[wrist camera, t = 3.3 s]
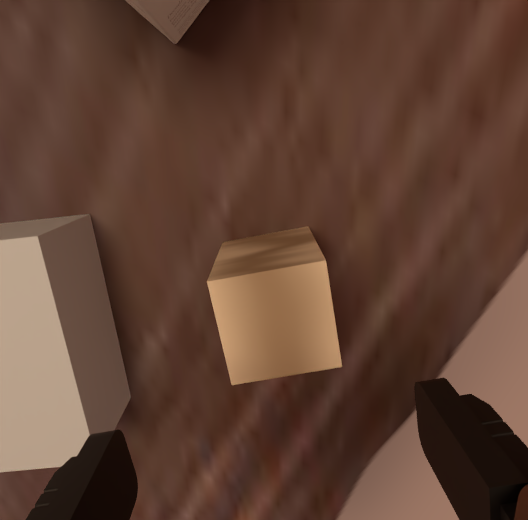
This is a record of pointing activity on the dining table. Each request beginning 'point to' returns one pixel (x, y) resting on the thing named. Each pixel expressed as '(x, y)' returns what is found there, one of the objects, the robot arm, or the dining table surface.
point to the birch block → (274, 306)
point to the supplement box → (169, 15)
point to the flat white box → (55, 343)
